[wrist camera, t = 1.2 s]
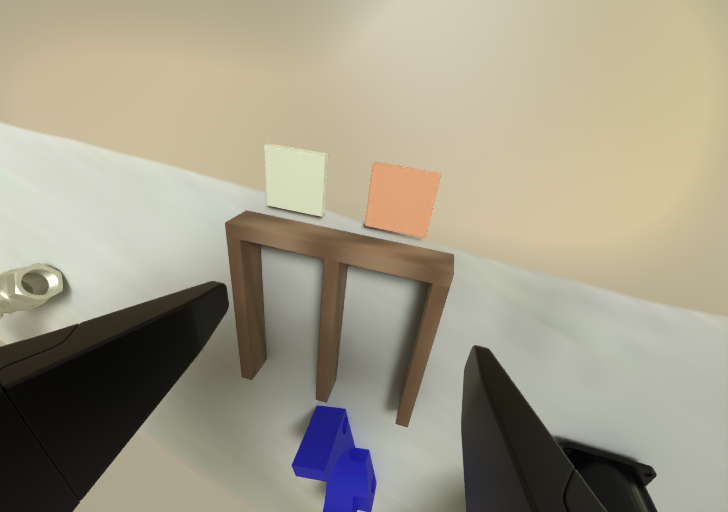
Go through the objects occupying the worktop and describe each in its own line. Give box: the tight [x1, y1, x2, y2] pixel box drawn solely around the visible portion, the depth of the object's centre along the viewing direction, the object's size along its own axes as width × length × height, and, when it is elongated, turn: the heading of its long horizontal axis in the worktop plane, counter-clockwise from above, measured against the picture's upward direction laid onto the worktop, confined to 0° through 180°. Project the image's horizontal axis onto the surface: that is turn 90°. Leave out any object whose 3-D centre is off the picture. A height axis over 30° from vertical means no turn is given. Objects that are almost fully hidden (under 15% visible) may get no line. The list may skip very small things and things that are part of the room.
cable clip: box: [292, 406, 377, 512], centre depth 31 cm, size 12×4×6 cm, turn 9°
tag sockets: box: [225, 144, 454, 427], centre depth 23 cm, size 15×20×2 cm
